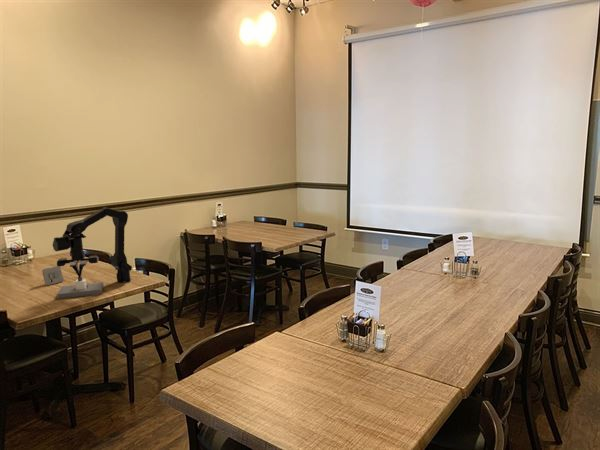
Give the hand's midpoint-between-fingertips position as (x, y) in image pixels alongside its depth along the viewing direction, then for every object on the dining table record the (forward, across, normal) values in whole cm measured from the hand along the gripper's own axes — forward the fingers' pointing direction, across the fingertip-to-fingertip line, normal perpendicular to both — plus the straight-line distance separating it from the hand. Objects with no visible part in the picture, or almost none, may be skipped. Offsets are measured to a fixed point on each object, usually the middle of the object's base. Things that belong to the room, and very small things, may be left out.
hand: (79, 276), depth 233 cm
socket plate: (+8, 0, 0) cm, 8 cm away
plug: (+8, 0, 0) cm, 8 cm away
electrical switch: (+9, +18, -24) cm, 31 cm away
